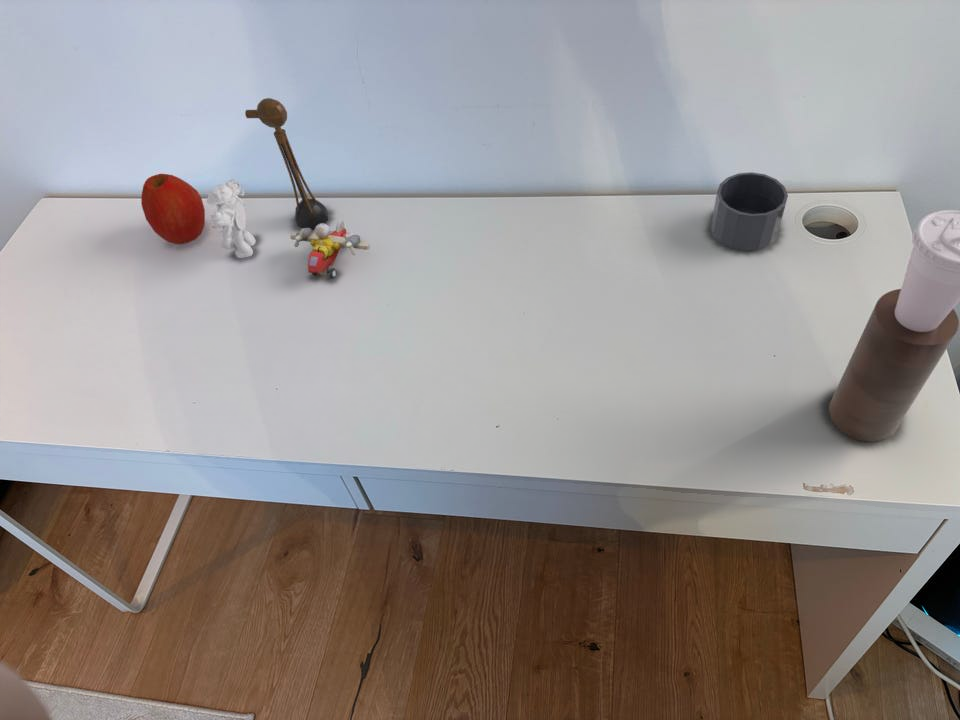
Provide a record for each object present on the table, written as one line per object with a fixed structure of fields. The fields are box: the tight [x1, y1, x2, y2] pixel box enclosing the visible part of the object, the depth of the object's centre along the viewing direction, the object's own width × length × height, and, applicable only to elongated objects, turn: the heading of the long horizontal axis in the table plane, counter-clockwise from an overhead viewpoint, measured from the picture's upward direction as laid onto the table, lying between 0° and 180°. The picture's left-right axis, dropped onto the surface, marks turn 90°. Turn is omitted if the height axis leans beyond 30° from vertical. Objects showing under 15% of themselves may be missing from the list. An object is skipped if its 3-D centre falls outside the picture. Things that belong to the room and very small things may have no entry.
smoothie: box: [895, 209, 960, 332], centre depth 60 cm, size 6×6×14 cm
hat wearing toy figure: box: [206, 178, 257, 259], centre depth 101 cm, size 9×4×12 cm, turn 178°
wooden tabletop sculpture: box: [244, 97, 329, 231], centre depth 100 cm, size 6×5×20 cm
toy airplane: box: [289, 218, 371, 279], centre depth 100 cm, size 9×9×6 cm
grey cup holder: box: [710, 171, 789, 252], centre depth 94 cm, size 8×8×6 cm
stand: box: [828, 288, 960, 443], centre depth 71 cm, size 7×7×16 cm
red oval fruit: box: [140, 173, 206, 245], centre depth 105 cm, size 8×8×11 cm
